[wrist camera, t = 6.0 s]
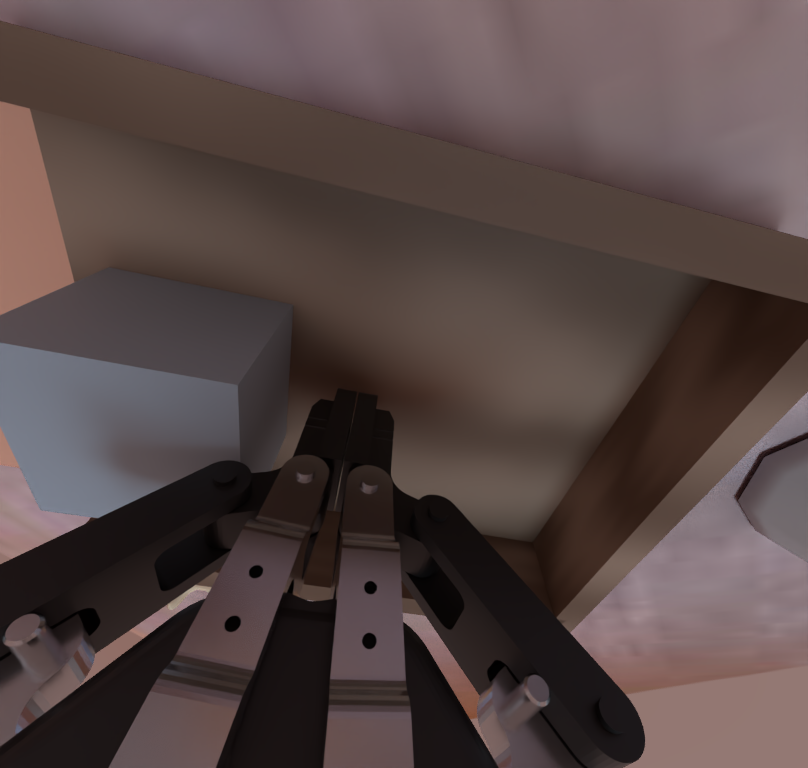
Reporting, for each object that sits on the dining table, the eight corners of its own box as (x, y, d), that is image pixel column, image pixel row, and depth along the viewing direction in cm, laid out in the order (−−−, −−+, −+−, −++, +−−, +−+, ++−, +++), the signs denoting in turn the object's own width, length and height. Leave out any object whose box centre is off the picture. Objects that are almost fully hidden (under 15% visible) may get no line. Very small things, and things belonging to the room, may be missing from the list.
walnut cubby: (14, 25, 9) (-204, -35, 6) (779, 231, 12) (925, 271, 8) (131, 491, 19) (70, 568, 15) (543, 555, 21) (568, 634, 18)
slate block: (108, 267, 12) (-44, 334, 8) (293, 304, 13) (237, 385, 9) (139, 409, 16) (40, 510, 12) (285, 434, 16) (243, 538, 12)
